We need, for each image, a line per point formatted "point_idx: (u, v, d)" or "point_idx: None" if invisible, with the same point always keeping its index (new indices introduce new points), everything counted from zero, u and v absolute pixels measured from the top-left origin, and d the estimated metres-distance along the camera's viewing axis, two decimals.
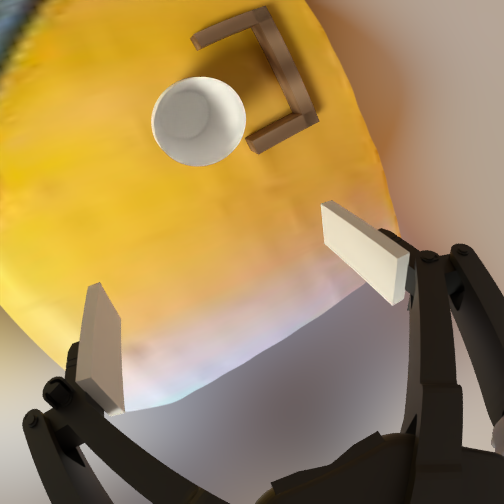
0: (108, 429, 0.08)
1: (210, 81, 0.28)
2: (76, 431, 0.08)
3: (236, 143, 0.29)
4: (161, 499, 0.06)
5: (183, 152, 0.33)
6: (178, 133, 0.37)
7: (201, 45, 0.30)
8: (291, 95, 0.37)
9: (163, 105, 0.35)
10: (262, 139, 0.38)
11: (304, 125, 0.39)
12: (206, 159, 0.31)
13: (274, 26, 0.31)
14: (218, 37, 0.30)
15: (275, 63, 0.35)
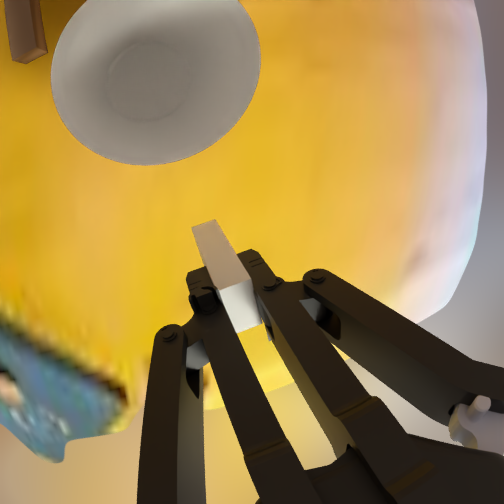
0: (235, 350, 0.10)
1: (87, 32, 0.11)
2: (204, 339, 0.11)
3: (232, 3, 0.10)
4: (245, 433, 0.07)
5: (210, 102, 0.17)
6: (175, 96, 0.21)
7: (34, 47, 0.13)
8: None
9: (121, 112, 0.20)
10: None
11: None
12: (241, 68, 0.14)
13: None
14: (28, 21, 0.12)
15: None
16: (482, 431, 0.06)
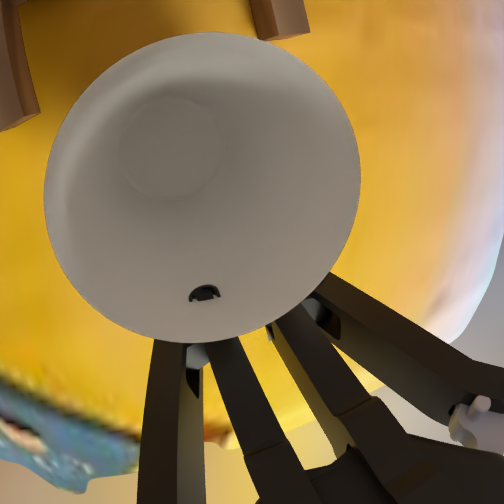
0: (235, 351, 0.10)
1: (89, 116, 0.09)
2: None
3: (320, 91, 0.08)
4: (245, 433, 0.07)
5: (263, 197, 0.15)
6: (207, 167, 0.19)
7: (20, 116, 0.11)
8: None
9: (142, 188, 0.18)
10: (281, 13, 0.13)
11: None
12: (314, 171, 0.11)
13: None
14: (9, 79, 0.10)
15: None
16: (482, 431, 0.06)
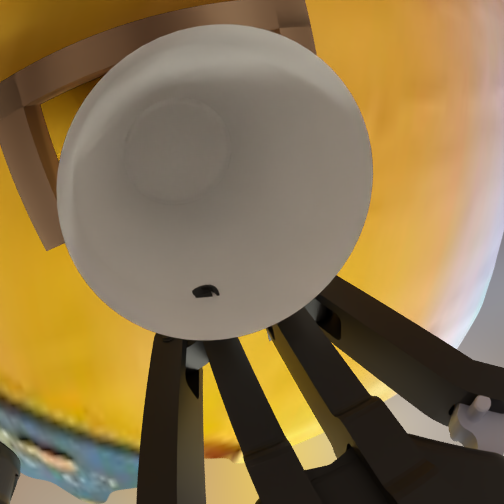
0: (235, 350, 0.10)
1: (105, 102, 0.09)
2: (204, 340, 0.11)
3: (338, 96, 0.08)
4: (245, 433, 0.07)
5: (268, 203, 0.15)
6: (210, 172, 0.19)
7: None
8: None
9: (143, 189, 0.18)
10: None
11: (304, 32, 0.14)
12: (323, 177, 0.12)
13: (35, 66, 0.10)
14: (53, 203, 0.14)
15: None
16: (482, 431, 0.06)
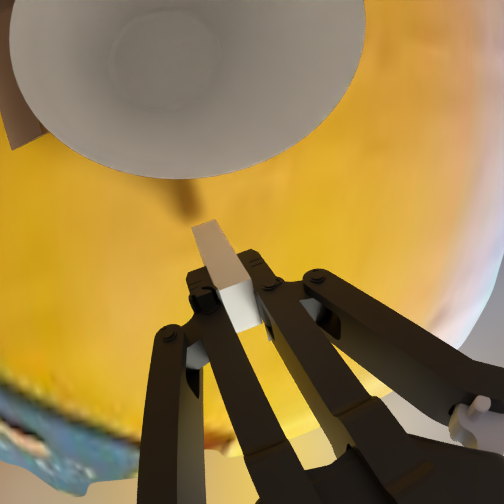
0: (235, 350, 0.10)
1: None
2: (204, 339, 0.11)
3: None
4: (245, 433, 0.07)
5: (254, 90, 0.12)
6: (197, 81, 0.16)
7: (38, 134, 0.12)
8: None
9: (125, 94, 0.15)
10: None
11: None
12: (313, 45, 0.09)
13: None
14: None
15: None
16: (482, 431, 0.06)
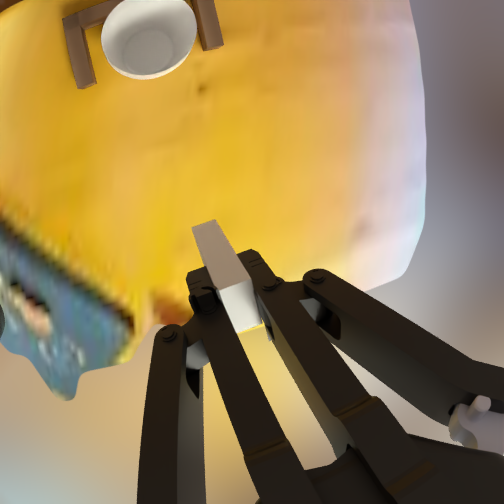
0: (235, 350, 0.10)
1: (117, 18, 0.22)
2: (204, 339, 0.11)
3: (187, 6, 0.21)
4: (245, 433, 0.07)
5: (179, 59, 0.28)
6: (163, 61, 0.32)
7: (91, 82, 0.28)
8: None
9: (130, 68, 0.31)
10: (208, 37, 0.30)
11: None
12: (193, 38, 0.25)
13: (87, 10, 0.23)
14: (86, 65, 0.27)
15: None
16: (482, 431, 0.06)
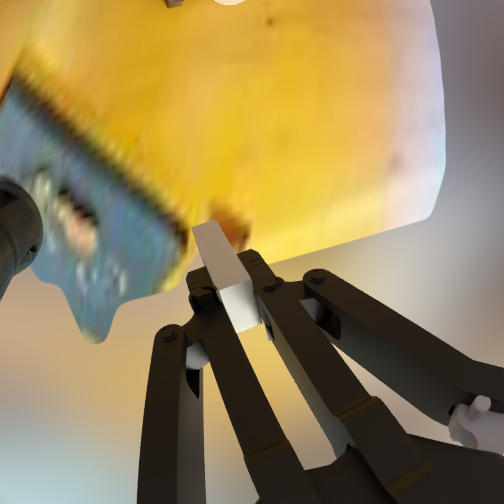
0: (235, 350, 0.10)
1: None
2: (204, 339, 0.11)
3: None
4: (245, 433, 0.07)
5: None
6: None
7: None
8: None
9: None
10: None
11: None
12: None
13: None
14: None
15: None
16: (482, 431, 0.06)
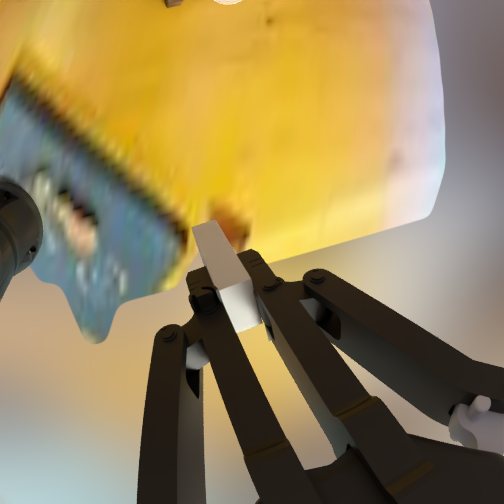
0: (236, 350, 0.10)
1: None
2: (204, 339, 0.11)
3: None
4: (245, 433, 0.07)
5: None
6: None
7: None
8: None
9: None
10: None
11: None
12: None
13: None
14: None
15: None
16: (482, 431, 0.06)
